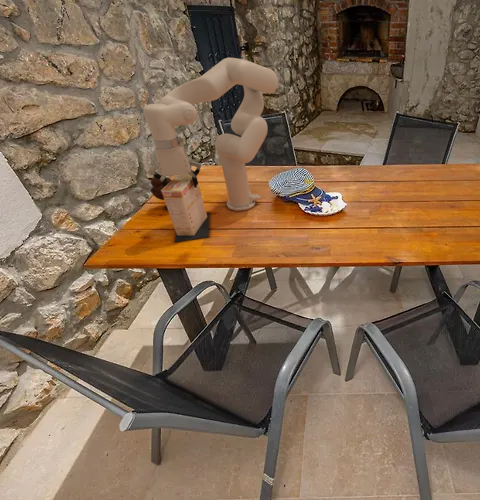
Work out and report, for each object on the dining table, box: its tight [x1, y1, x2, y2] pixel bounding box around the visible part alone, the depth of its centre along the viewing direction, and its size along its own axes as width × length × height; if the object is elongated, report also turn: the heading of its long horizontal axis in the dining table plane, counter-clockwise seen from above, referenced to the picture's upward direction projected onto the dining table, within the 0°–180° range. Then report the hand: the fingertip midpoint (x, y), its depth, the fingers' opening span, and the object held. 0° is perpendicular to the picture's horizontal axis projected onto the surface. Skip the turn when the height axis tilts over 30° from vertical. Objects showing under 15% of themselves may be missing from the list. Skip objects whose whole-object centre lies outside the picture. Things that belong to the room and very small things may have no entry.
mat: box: [174, 211, 210, 243], centre depth 130 cm, size 12×20×1 cm, turn 19°
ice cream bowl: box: [149, 176, 173, 211], centre depth 138 cm, size 11×11×15 cm
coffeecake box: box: [161, 174, 207, 236], centre depth 124 cm, size 15×7×20 cm, turn 0°
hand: (182, 187), depth 120 cm, fingers open, 9 cm apart
